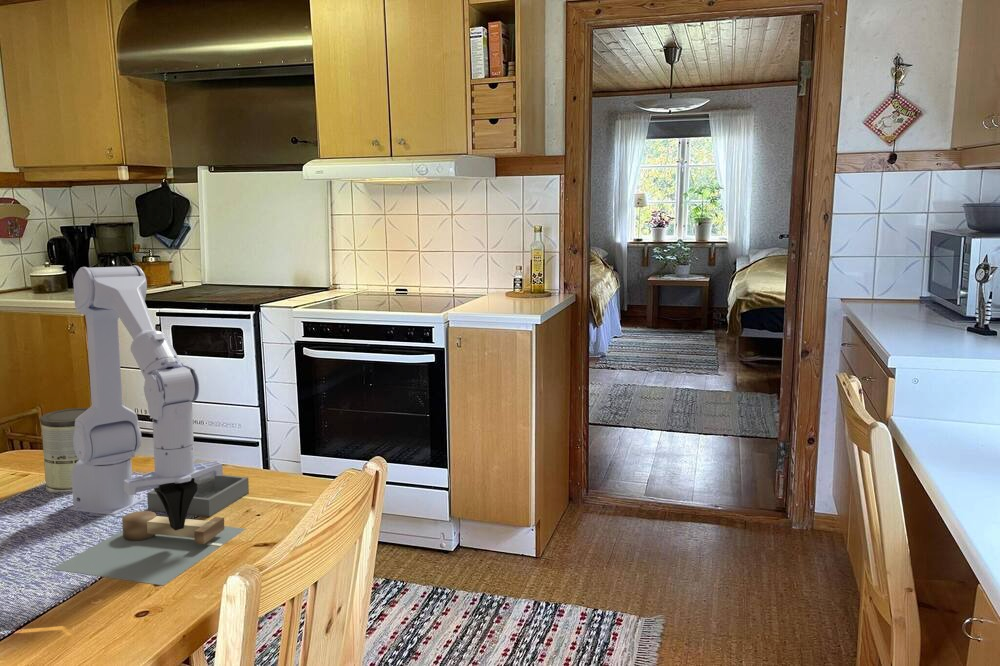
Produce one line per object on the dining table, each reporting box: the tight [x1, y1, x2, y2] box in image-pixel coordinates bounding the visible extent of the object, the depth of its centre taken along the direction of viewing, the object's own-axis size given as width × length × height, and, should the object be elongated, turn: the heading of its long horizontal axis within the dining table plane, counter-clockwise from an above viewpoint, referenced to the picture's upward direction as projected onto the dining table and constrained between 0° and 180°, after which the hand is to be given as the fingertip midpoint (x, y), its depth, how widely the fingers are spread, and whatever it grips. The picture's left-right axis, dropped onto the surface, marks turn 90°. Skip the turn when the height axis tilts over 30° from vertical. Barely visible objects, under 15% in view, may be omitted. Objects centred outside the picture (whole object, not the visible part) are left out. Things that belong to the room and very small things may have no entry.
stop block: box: [194, 459, 215, 498], centre depth 140 cm, size 4×4×7 cm
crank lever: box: [121, 510, 225, 544], centre depth 124 cm, size 16×6×3 cm, turn 80°
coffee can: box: [39, 407, 89, 494], centre depth 148 cm, size 10×10×14 cm
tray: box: [146, 474, 250, 518], centre depth 140 cm, size 12×12×4 cm
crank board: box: [51, 525, 246, 587], centre depth 120 cm, size 19×21×1 cm
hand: (177, 527), depth 121 cm, fingers closed
